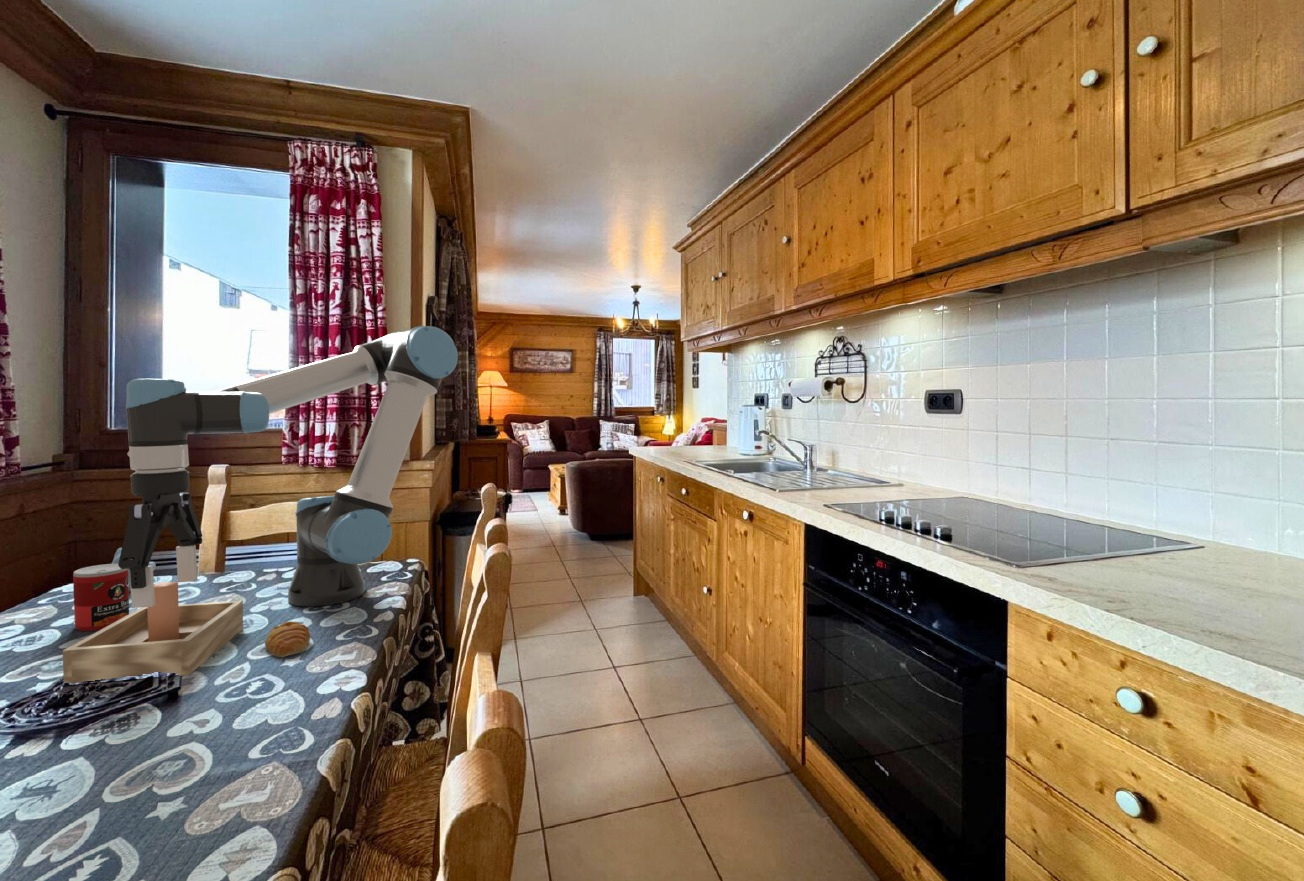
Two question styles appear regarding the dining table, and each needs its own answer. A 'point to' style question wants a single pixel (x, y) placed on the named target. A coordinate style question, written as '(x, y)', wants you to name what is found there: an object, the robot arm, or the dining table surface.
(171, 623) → the peg
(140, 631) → the box
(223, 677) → the dining table surface
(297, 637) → the pastry
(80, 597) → the canned food
